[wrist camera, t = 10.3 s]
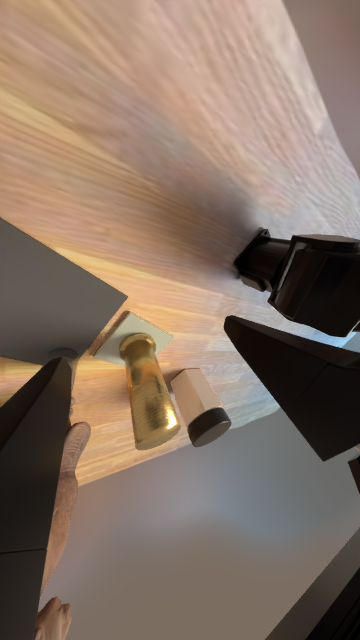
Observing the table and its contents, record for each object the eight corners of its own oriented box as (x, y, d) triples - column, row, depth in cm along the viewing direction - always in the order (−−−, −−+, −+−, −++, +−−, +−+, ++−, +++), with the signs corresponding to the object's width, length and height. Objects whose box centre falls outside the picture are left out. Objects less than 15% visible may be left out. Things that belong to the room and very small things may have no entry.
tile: (129, 311, 21) (130, 313, 20) (173, 335, 27) (174, 337, 26) (94, 355, 23) (93, 357, 22) (141, 368, 28) (142, 371, 28)
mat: (-139, 131, 9) (-146, 129, 8) (127, 296, 20) (127, 297, 19) (-193, 314, 11) (-199, 316, 11) (70, 368, 22) (69, 370, 22)
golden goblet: (122, 331, 22) (135, 429, 12) (158, 333, 24) (193, 413, 14) (116, 359, 24) (123, 460, 14) (150, 358, 27) (175, 442, 17)
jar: (167, 376, 33) (190, 438, 23) (200, 362, 34) (234, 414, 25) (173, 395, 38) (194, 452, 29) (201, 382, 40) (229, 431, 31)
